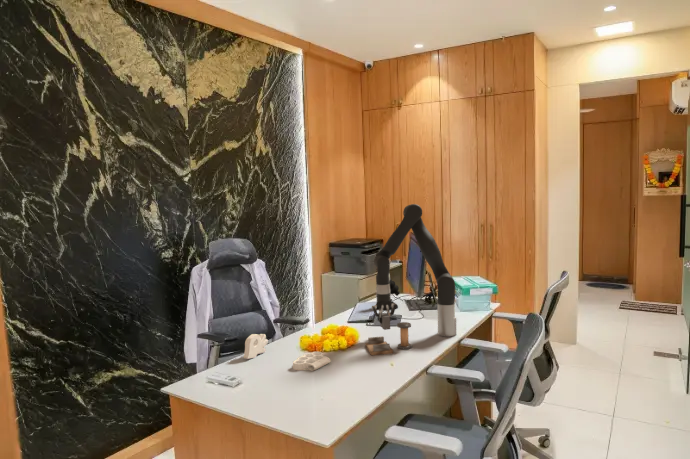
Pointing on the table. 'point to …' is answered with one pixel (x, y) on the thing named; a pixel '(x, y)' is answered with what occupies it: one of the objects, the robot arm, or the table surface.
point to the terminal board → (378, 346)
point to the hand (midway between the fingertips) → (384, 323)
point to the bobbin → (404, 335)
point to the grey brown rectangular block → (385, 321)
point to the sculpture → (393, 291)
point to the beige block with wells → (310, 361)
